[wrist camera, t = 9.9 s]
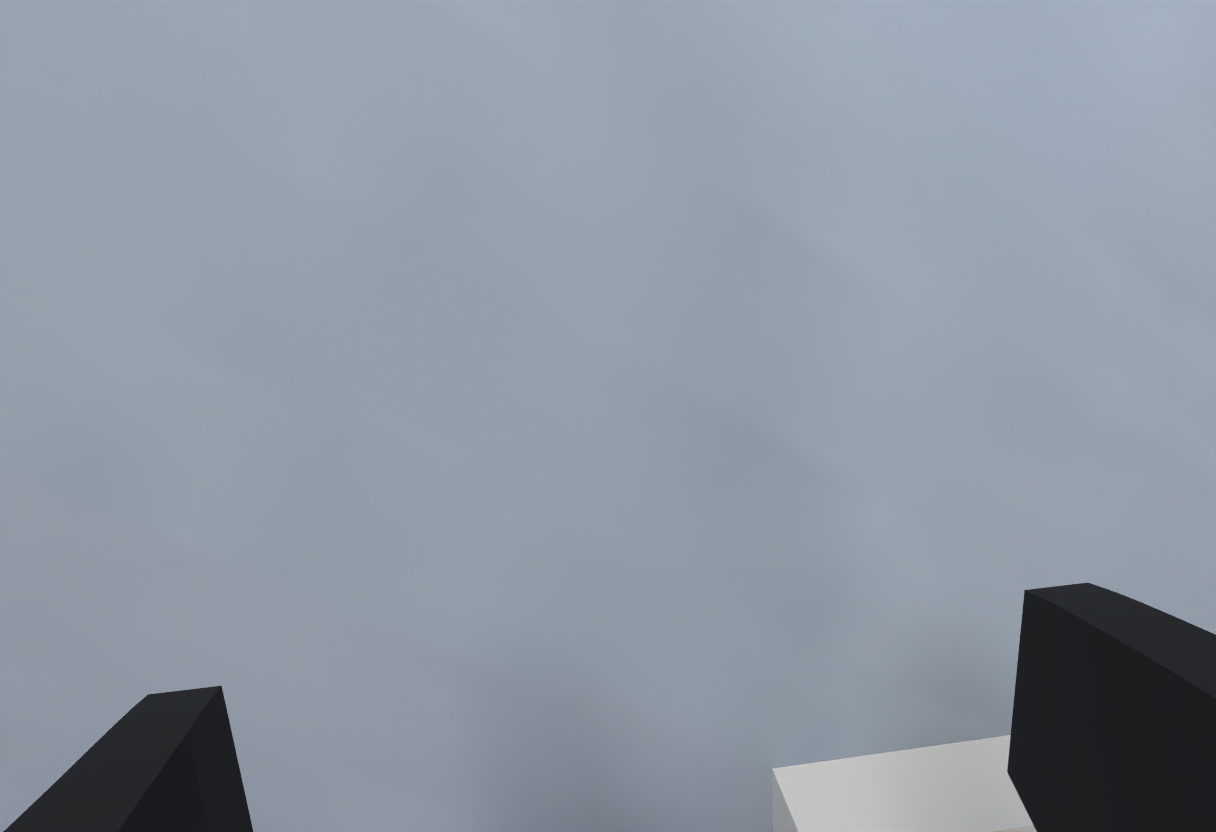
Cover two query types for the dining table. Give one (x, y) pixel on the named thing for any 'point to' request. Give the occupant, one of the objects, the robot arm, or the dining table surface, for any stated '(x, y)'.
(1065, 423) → the dining table surface
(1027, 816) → the tile block
